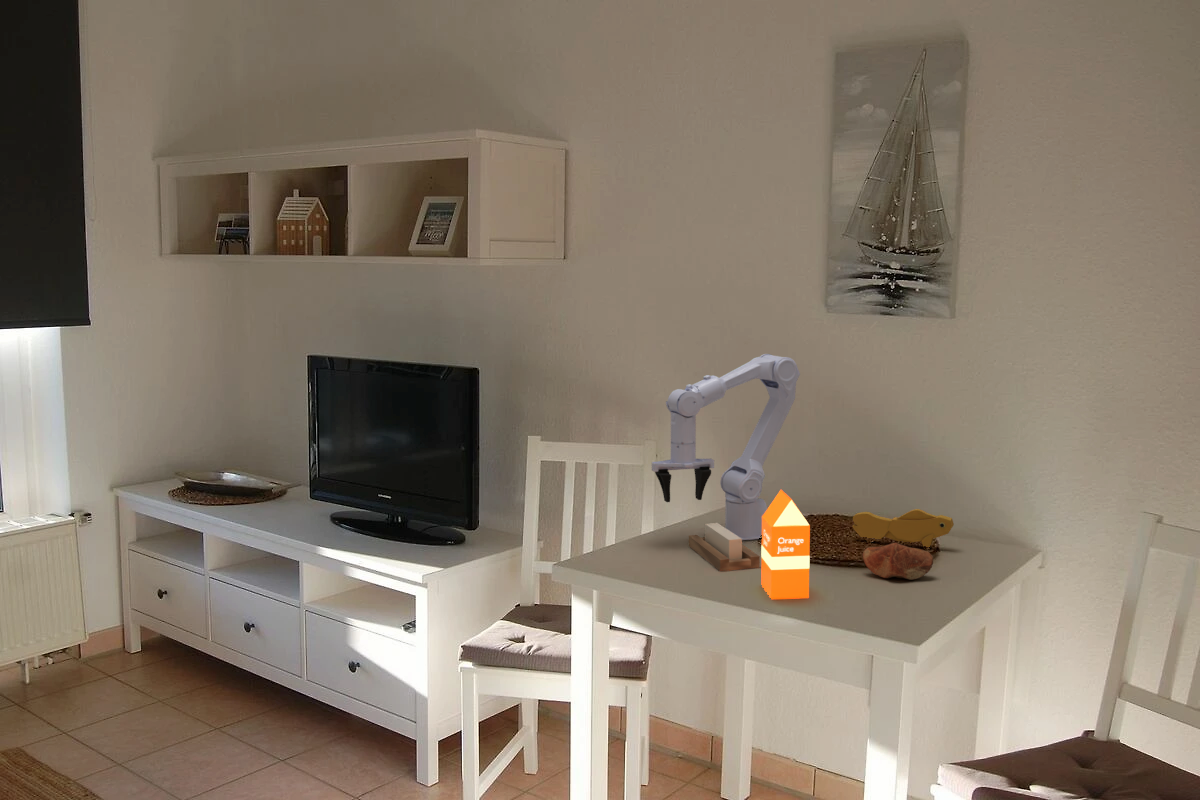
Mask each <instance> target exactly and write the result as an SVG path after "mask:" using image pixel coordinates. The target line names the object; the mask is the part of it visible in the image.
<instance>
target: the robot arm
mask: <svg viewBox="0 0 1200 800" xmlns="http://www.w3.org/2000/svg"><path fill="white" fill-rule="evenodd" d="M800 375H801V373H800V370H799V368H798V364H797V362H796V361H795V360H794V359H793V358H791V357H789V356H780V355H772V354H770V353H764V354H761V355H760V356H757V357H754V358H752V359H751V360H750V361H748V362H745V363H744V364H742V365H740V366H738V367H737V368H735V369H733V370H731V371H729V372H727V373H725V374H724V375H722V376H720V377H719V376H716V375H709V374H706V375H704V376H702V380H700V381H697V382H695V383H693V384H690V383H688V384H686V385H685V388H684V389H681V388H677V389H674V390H672V391H671V392H670V394H669V396H668V398H667V401H665V405H666V408H667V410H668V411H669V413H670V459H665V460H659V461H651V471H653V472H654V474H655V475H656V478H657V479H658V482H659V484H660V487H661V491H662V494H663V495H662V496H663V499H664V501H665V502H666V503H670V502H671V480H672V474H671V473H670V471H677V470H694V479H695V490H694V492H695V494H694V495H695V499H696V500H698V501H701V500H702V499H703V494H704V491H705V488H706V484H707V482H708V480H709V479H710V476H712V470H711V469H715V460H714V459H713V458H696V456H697V455H696V450H697V449H696V446H697V445H696V443H697V442H696V440H697V438H696V436H697V434H696V433H697V432H696V431H697V430H696V429H697V423H696V420H697V419H696V418H697V414H699V412H700V410H701V409H703V408H705V407H706V406H709V405H711V404H713V403H716V402H717V401H720V400H721V399H723V398H724V397H725V395H726V392H727V391H728V390H730V389H732V388H735V387H738V386H740V385H743V384H745V383H748V382H750V381H752V380H755V379H756V380H760V382H761V383H762V385H763V386H764V387H765V388H766V391H767V393H768V396H769V399H768V401H767V403H766V405H765V406H764V409H763V411H762V412H761V415H760V417H759V419H758V422H757V423H756V425H755V427H754V429H753V431H752V433H751V435H750V437H749V440H748V442H747V444H746V446H745V448H744V450H743V452H742V454H741V456H739V457H737V458H736V459H735V460H733V461H732V462H731V465H730V466H729V467H728V468H727V469H726V470H725V471H724V472H723V473H722V475H721V476H720V482H719V483H720V484H719V485H720V488H721V490H722V491H723V493H724V495H725V513H724V515H725V523H724V524H725V528H726V529H728V530H729V531H731V532H732V533H734V534H735V535H737V536H738V537H740V538H742V541H749V540H750V541H752V540H760V539H759V538H760V536H761V535H762V516H763V514H764V513H765V512H766V510H767V509H768V506H767V503H766V501H765V499H763V498H760V495H761V493H762V490H763V482H764V480H765V478H766V474H765V472H764V467H763V466H764V464H765V462H766V460H767V457H768V455H769V453H770V452H771V449H772V448H773V445H774V443H775V441H776V439H777V437H778V436H779V433H780V431H781V429H782V426H783V425H784V423H785V420H786V419H787V416H788V414H789V412H790V410H791V408H792V406H793V404H794V402H795V399H796V389H797V382H798V379H799V377H800Z"/></svg>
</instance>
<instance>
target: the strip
mask: <svg viewBox="0 0 1200 800" xmlns="http://www.w3.org/2000/svg"><path fill="white" fill-rule="evenodd" d="M704 537H705V541H706V542H707V543H708V544H710V545H711V546H712V547H714V548H715V549H716V550H718V551H719V552H720V553H722V554H723V555H724V556H726V557H727V558H728V559H729V560H736V559H742V544H743V540H742V538H740V537H738V536H737V535H735V534H734V533H732V532H731V531H729V530H728V529H726V528H725V527H724V525H722V524H720V523H719V522H714V523H713V522H712V523H710V522H709V523H705V524H704Z"/></svg>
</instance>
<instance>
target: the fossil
mask: <svg viewBox="0 0 1200 800" xmlns="http://www.w3.org/2000/svg"><path fill="white" fill-rule="evenodd" d="M861 554H862V555H861V556H862V558H863V559H862V560H863V563H864V565H865V567H866V568H867V569H868V570H869V571H870V572H871V573H873V574H874V575H876V576H879V577H881V578H883V579H890V578H897V579H906V580H910V581H911V580H917V579H920V578H923V577H924V576H925V575H926V574H928V573H929V572H930V571H931V569H932V567H933V564H934V556H933V554H931V553H930V552H929V550H926V549H925V550H924V549H921V548H916V547H911V546H910V547H909V546H906V545H903V544H901V543H898V542H892V543H890V544H886V545H883V546H868V547H866V548H865V549H864V550H863V552H862V553H861Z"/></svg>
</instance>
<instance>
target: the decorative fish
mask: <svg viewBox="0 0 1200 800" xmlns="http://www.w3.org/2000/svg"><path fill="white" fill-rule="evenodd" d="M852 521H853V523H854V524H853V525H852V529H853V530H854V531H855V532H856V533H857V535H858V536H859V537H860V538H861V537H867V538H875V539H880V540H881V539H883V538H887V539H890V540H893V541H897V542H899V541H903V542H910V543H909V544H912V543H917V542H918V543H919V542H921V545H922V547H924V546H926V547H930V545H931V546H932V544H933V543H934V540H935V539H937V538H939V537H943V536H945V535H948V534H949V533H950V531H951V530H952V528H953V527H954V520H953V518H952V517H949V516H946V515H943V514H940V515H934V514H932V513H928V512H926V511H925V510H922V509H919V508H915V509H911V510H909V511H908V512H906V513H904V514H902V515H900V516H898V517H897V516H894V517H893V518H888V517H884V516H881V515H880V516H879V515H877V514H874V513H873V512H869V511H862V512H857V513H855V514H853V516H852ZM903 542H902V543H903ZM930 548H931V547H930Z"/></svg>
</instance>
